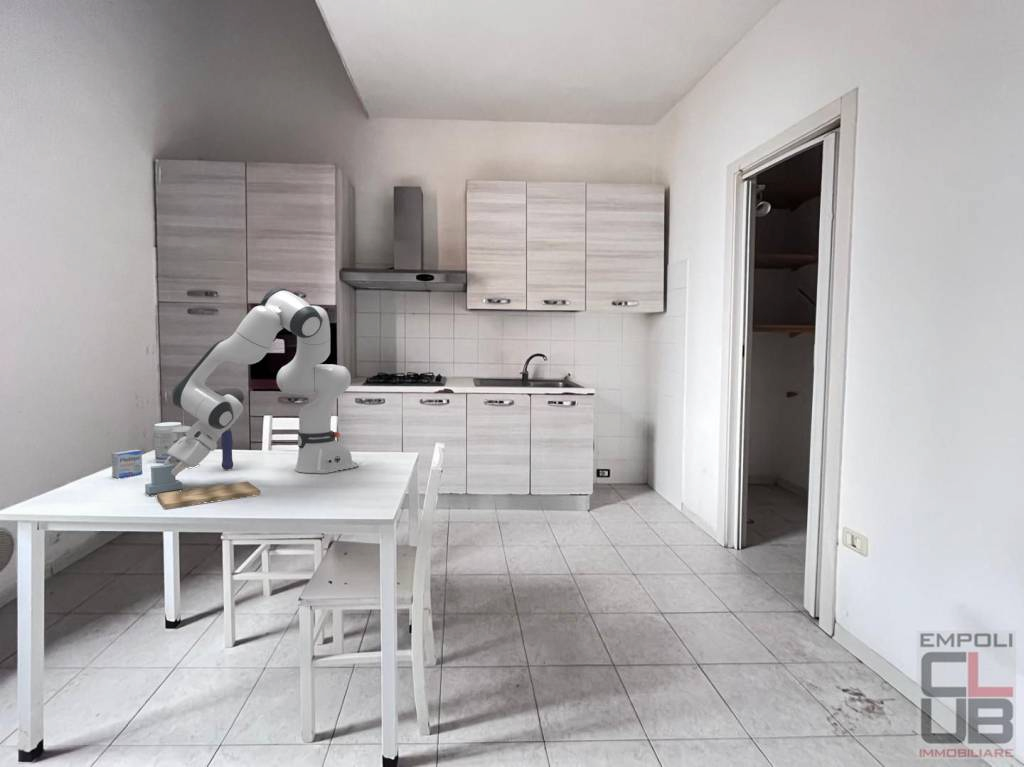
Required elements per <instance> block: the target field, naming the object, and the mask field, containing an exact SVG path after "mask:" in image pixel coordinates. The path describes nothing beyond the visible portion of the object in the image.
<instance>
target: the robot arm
mask: <svg viewBox="0 0 1024 767" xmlns="http://www.w3.org/2000/svg"><path fill="white" fill-rule="evenodd" d="M330 325H331V324H330V320H329V316H328V313H327V311H326V310H325V309H324V308H323V307H321V306H319V305H310V304H309V303H308V302H307V301H306V300H304V299H303V298H301V297H300V296H298V295H296V294H294V293H293V292H291V291H290V290H289V289H286V288H284V287H280V286H279V287H274V288H272V289H270V290H269V291H268V292H266V293H265V295H264V297H263V298H262V300H261V301H260V303H259V305H257V306H254V307H253V308H252V309H250V311H249V312H248V313H247V314H246V316H245V317H244V318H243V319H242V321H241V322H240V323H239V325H238V327H237V328H236V330H235V331H234V332H233V334H232V335H231V336H230V337H229V338H227V339H220V340H218V341H217V342H216V343H214V344H213V345H212V346H211V347H210V348H209V349H208V350H207V351H206V352H205V353H204V355H203V356H202V357H201V358H200V359H199V360H198V362H197V363H196V364H195V365H194V367H192V369H191V370H190V371H189V372H188V374H186V375H185V376H184V378H182V379H181V380H180V381H179V382H178V383H177V384H176V385H174V387H173V389H172V391H171V397H172V403H173V405H174V406H175V407H177V408H179V409H181V410H182V411H183V410H184V411H186V412H187V413H188V414H190V415H191V416H193V417H194V418H196V419H198V420H196V422H194V423H193V424H192V426H190V427H191V428H190V429H189V430H188V431H187V432H186V433H185V435H186V436H187V437H186V436H185V435H183V437H182V438H181V439H180V440H178V441H177V442H176V443H175V444H174V445H173V446H172V447H171V448H170V449H169V450H168V452H167V454H169V455H170V456H169V457H168V459H167V460H166V462H165V463H163V465H168V464H173V463H174V462H175V461H176V460H178V461H180V463H179V465H178V466H176V467H175V468H173V469H172V470H171V471H170V473H171V474H172V475H174V476H175V477H176V476H178V474H180V472H182V471H183V470H186V469H185V468H186V467H187V466H190V467H195V466H196V465H198V464H199V465H200V463H201V462H202V461H204V460H205V458H207V456H208V455H209V454H210V452H214V451H216V449H217V448H218V445H217V442H218V441H219V440H220V438H221V436H222V433H223V432H225V431H226V430H228V429H229V428H230V427H232V426H233V425H234V423H236V421H238V418H239V417H240V416H241V414H242V413H243V411H244V405H243V403H242V404H241V402H240V401H239V400H238V399H237V398H236V397H234V396H232V395H230V394H227V395H225V396H220V395H219V394H217V393H215V392H214V391H215V390H213V389H211V388H210V387H208V386H206V380H207V379H208V377H209V376H210V375H211V374H212V373H213V371H215V370H216V368H217V367H218V366H219V365H220V364H221V363H224V362H229V363H234V364H240V365H253V364H256V363H259V362H260V361H261V360H263V358H264V357H265V356H266V355H267V353H268V351H269V350H270V349H271V347H272V344H273V342H274V340H275V339H276V336H277V334H278V333H279V332H281V331H282V330H284V329H286V331H288V332H291V333H292V334H293V335H295V336H296V352H295V355H294V357H293V359H292V360H291V361H289V362H288V363H287V364H285V365H283V366H282V367H281V368H280V369H279V370H278V372H277V374H276V384H277V387H278V388H279V390H280V391H281V392H283V393H285V394H290V395H291V394H292V395H316V399H315V400H314V401H312V402H310V403H308V404H306V405H304V406H303V407H301V408H300V410H299V413H298V432H297V446H298V455H297V461H296V464H295V471H296V472H298V473H304V474H306V473H307V474H308V473H309V474H329V472H330V473H335V472H334V471H336V472H339V471H338V470H341V471H344V470H343V469H346V470H349V469H348V468H351V469H354V468H353V467H356V468H358V467H359V464H358V462H357V461H355V460H353V459H352V453H351V451H350V449H349V448H347V447H346V446H344V445H343V444H341V443H340V442H339V441H337V440H336V438H337V439H338V438H339V439H340V437H341V433H340V431H339V432H338V431H333V430H331V428H332V427H331V422H332V420H331V419H332V411H333V408H334V405H335V402H336V401H337V400H338V398H340V396H341V395H342V394H343V393H345V392H346V391H347V390H348V389H349V388H350V385H351V382H352V378H351V376H352V375H351V373H350V371H349V370H348V368H347V367H346V366H344V365H340V364H339V365H338V364H332V363H331V364H327V363H325V364H323V363H324V362H325V361H326V360H327V359H328V357H329V356H330V355H331V326H330ZM357 466H358V467H357ZM195 468H196V467H195Z"/></svg>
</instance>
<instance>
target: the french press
mask: <svg viewBox="0 0 1024 767" xmlns="http://www.w3.org/2000/svg"><path fill="white" fill-rule="evenodd" d="M184 411H185V410H183V409H182V424H183V425H182V426H180V427H177V428H175V429H173V430H172V431H171V432H172V433H182V434H186V432H187V431H188V430H189V429H190V428H191V427H192V426H187V425H185V417H184V416H185V412H184ZM186 437H187V435H186ZM177 441H178V440H176V441H174V443H176V442H177ZM179 463H180V461H178V460H176V461H175V462H174V463H173V465H175V467H176V466H178V465H179ZM198 465H199V466H200V463H199V464H198ZM196 466H197V465H196ZM189 467H190V466H187V467H186V468H189Z"/></svg>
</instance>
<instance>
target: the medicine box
mask: <svg viewBox="0 0 1024 767" xmlns="http://www.w3.org/2000/svg"><path fill="white" fill-rule="evenodd" d="M142 451H143V450H140V449H130V450H122V451H116V452H111V472H112V473H111V475H112V477H113V478H116V479H119V478H120V479H125V477H126V478H131V477H135V475H136V476H141V475H140V474H142V475H143V456H142V455H143V453H142ZM130 476H131V477H130Z"/></svg>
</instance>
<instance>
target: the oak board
mask: <svg viewBox="0 0 1024 767" xmlns="http://www.w3.org/2000/svg"><path fill="white" fill-rule="evenodd" d="M260 494H262V491H261V489H260V488H258V487H256V486H255V485H254V484H253V483H250V482H249V481H241V482H235V483H234V482H233V483H225V484H220V485H212V486H205V487H197V488H196V487H195V488H190V489H182V490H181V491H174V492H166V493H159V494H157V496H156V500H157V499H158V500H159V501H158V500H157V501H158V503H160V505H161V504H162V505H161V506H162V507H163V508H164V510H169V509H170V510H171V508H172V509H176V508H177V507H178V508H183V507H182V506H185V507H188V506H187V505H191V506H193V505H192V504H198V505H200V504H199V503H204V502H211V501H218V500H224V501H226V500H225V499H231V500H233V499H232V498H238V499H241V498H240V497H244V498H248V497H247V496H251V497H254V496H253V495H257V496H261V495H260ZM218 502H219V501H218ZM211 503H212V502H211Z"/></svg>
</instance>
